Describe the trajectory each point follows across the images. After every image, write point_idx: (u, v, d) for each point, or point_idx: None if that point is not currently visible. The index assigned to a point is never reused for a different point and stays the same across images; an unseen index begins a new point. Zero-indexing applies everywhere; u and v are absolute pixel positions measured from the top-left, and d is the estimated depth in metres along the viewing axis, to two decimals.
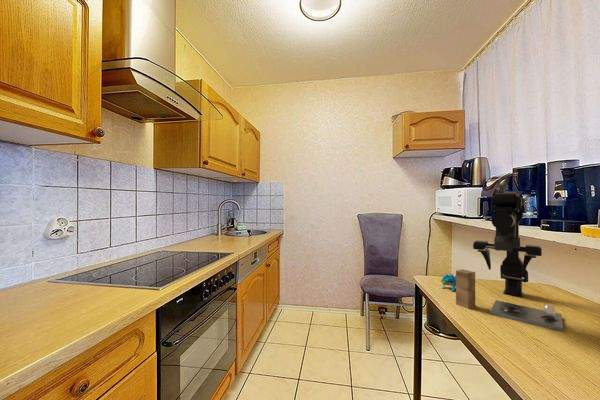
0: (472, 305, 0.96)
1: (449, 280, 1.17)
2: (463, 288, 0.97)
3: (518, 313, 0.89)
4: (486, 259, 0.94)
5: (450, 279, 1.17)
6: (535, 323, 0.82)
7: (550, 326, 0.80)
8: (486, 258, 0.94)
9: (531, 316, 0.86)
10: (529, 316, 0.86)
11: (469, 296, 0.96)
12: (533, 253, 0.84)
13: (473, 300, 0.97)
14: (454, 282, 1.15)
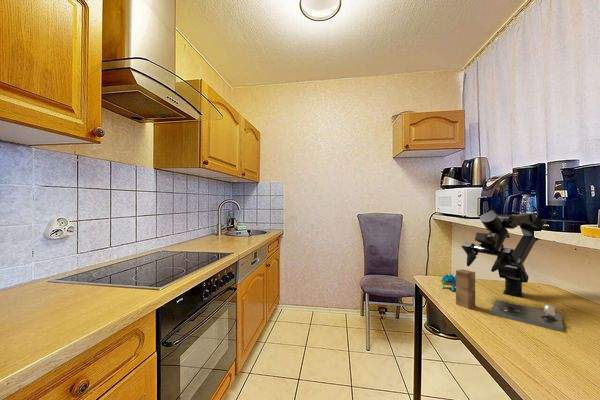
0: (472, 305, 0.96)
1: (449, 280, 1.17)
2: (463, 288, 0.97)
3: (518, 313, 0.89)
4: (468, 256, 1.07)
5: (450, 279, 1.16)
6: (535, 323, 0.82)
7: (550, 326, 0.80)
8: (468, 255, 1.07)
9: (531, 316, 0.86)
10: (529, 316, 0.86)
11: (469, 296, 0.96)
12: (505, 251, 0.96)
13: (473, 300, 0.97)
14: (454, 282, 1.15)
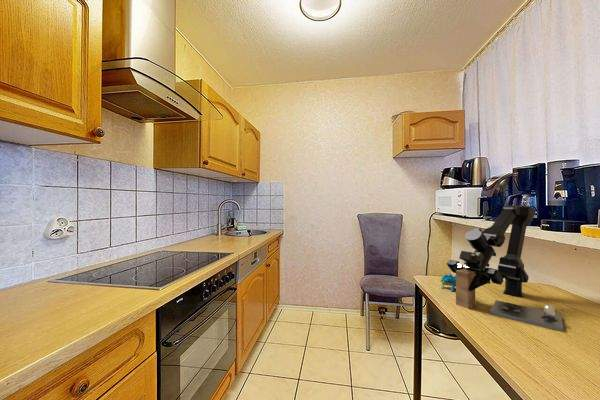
0: (472, 305, 0.96)
1: (448, 280, 1.17)
2: (463, 288, 0.97)
3: (518, 313, 0.89)
4: None
5: (449, 279, 1.16)
6: (535, 323, 0.82)
7: (550, 326, 0.80)
8: None
9: (531, 316, 0.86)
10: (529, 316, 0.86)
11: (469, 296, 0.96)
12: (489, 271, 0.92)
13: (473, 300, 0.97)
14: (453, 282, 1.15)
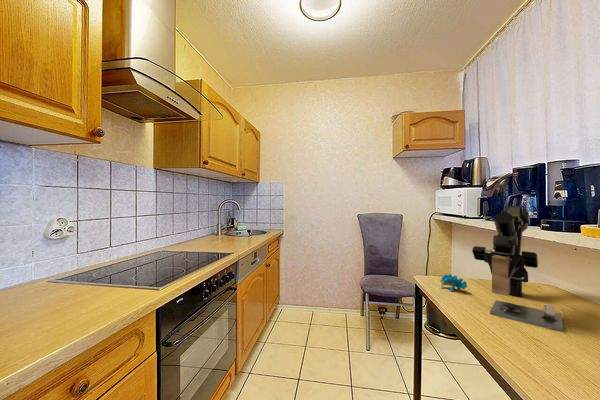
0: (509, 292, 0.91)
1: (448, 280, 1.17)
2: (502, 275, 0.91)
3: (518, 313, 0.89)
4: (490, 263, 0.95)
5: (449, 279, 1.16)
6: (535, 323, 0.82)
7: (550, 326, 0.80)
8: (490, 262, 0.95)
9: (531, 316, 0.86)
10: (529, 316, 0.86)
11: (508, 282, 0.90)
12: (529, 255, 0.89)
13: (509, 286, 0.92)
14: (453, 282, 1.15)
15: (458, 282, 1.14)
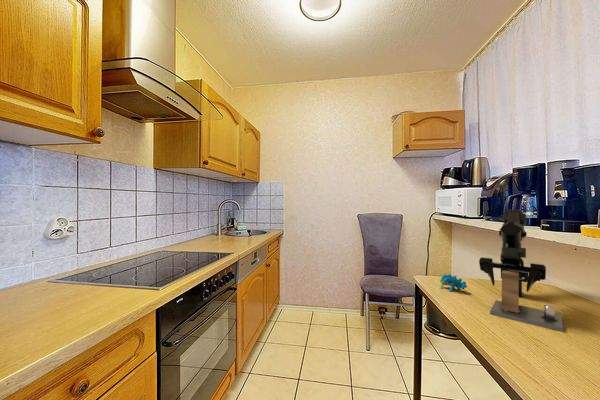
0: (518, 308, 0.90)
1: (448, 280, 1.17)
2: (512, 291, 0.89)
3: (518, 313, 0.89)
4: (491, 274, 0.95)
5: (448, 279, 1.16)
6: (535, 323, 0.82)
7: (550, 326, 0.80)
8: (491, 273, 0.96)
9: (531, 316, 0.86)
10: (529, 316, 0.86)
11: (518, 299, 0.89)
12: (538, 267, 0.88)
13: (518, 303, 0.91)
14: (452, 282, 1.15)
15: (458, 282, 1.14)
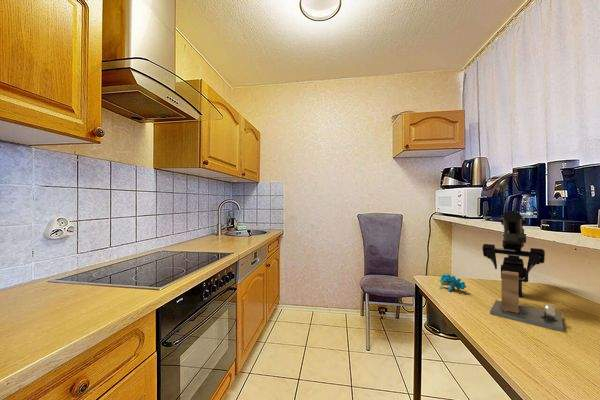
0: (518, 308, 0.90)
1: (447, 280, 1.17)
2: (512, 291, 0.89)
3: (518, 313, 0.89)
4: (493, 258, 1.02)
5: (448, 279, 1.16)
6: (535, 323, 0.82)
7: (550, 326, 0.80)
8: (493, 257, 1.02)
9: (531, 316, 0.86)
10: (529, 316, 0.86)
11: (518, 299, 0.89)
12: (537, 251, 0.95)
13: (518, 303, 0.91)
14: (451, 282, 1.15)
15: (457, 282, 1.14)
